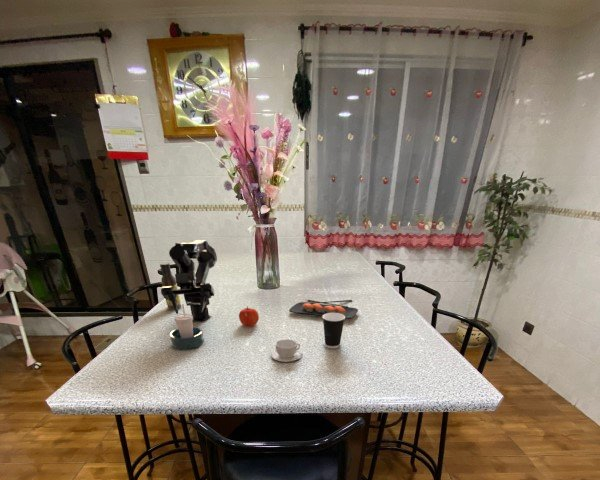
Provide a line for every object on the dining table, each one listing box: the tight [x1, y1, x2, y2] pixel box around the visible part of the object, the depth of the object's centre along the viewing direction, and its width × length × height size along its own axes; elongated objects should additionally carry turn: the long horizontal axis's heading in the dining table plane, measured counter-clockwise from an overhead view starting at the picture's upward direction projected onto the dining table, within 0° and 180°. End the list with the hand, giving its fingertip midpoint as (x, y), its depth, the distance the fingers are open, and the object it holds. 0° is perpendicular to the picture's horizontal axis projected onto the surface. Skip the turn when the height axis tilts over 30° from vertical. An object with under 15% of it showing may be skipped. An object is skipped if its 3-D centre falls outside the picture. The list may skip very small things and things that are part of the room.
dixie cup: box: [321, 313, 346, 350], centre depth 126 cm, size 8×8×11 cm
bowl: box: [169, 326, 205, 351], centre depth 130 cm, size 11×11×4 cm
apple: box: [238, 306, 260, 328], centre depth 145 cm, size 8×8×8 cm
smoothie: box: [173, 303, 194, 338], centre depth 128 cm, size 6×6×14 cm
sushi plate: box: [289, 299, 359, 320], centre depth 164 cm, size 29×30×4 cm
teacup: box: [271, 338, 302, 363], centre depth 121 cm, size 10×10×5 cm
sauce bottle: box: [159, 262, 182, 311], centre depth 162 cm, size 6×6×20 cm
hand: (189, 312), depth 135 cm, fingers open, 9 cm apart
